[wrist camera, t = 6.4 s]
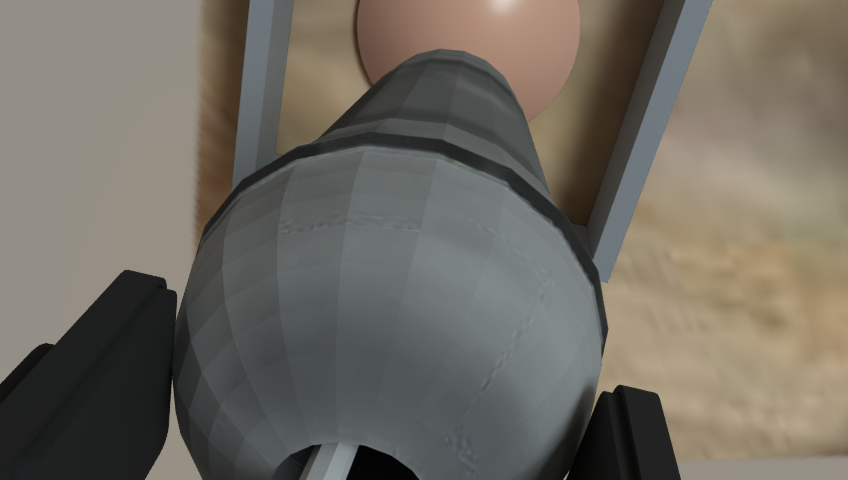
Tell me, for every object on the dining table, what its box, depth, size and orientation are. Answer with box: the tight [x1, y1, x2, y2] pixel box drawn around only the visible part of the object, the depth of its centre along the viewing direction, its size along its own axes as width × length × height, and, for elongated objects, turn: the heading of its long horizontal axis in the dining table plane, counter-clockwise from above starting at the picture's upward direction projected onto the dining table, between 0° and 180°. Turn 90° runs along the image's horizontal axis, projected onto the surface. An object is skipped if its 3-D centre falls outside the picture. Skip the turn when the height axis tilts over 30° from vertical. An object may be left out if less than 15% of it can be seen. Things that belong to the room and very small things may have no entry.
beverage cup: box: [172, 49, 608, 480], centre depth 15 cm, size 7×7×20 cm
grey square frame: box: [231, 0, 713, 283], centre depth 33 cm, size 18×18×4 cm
